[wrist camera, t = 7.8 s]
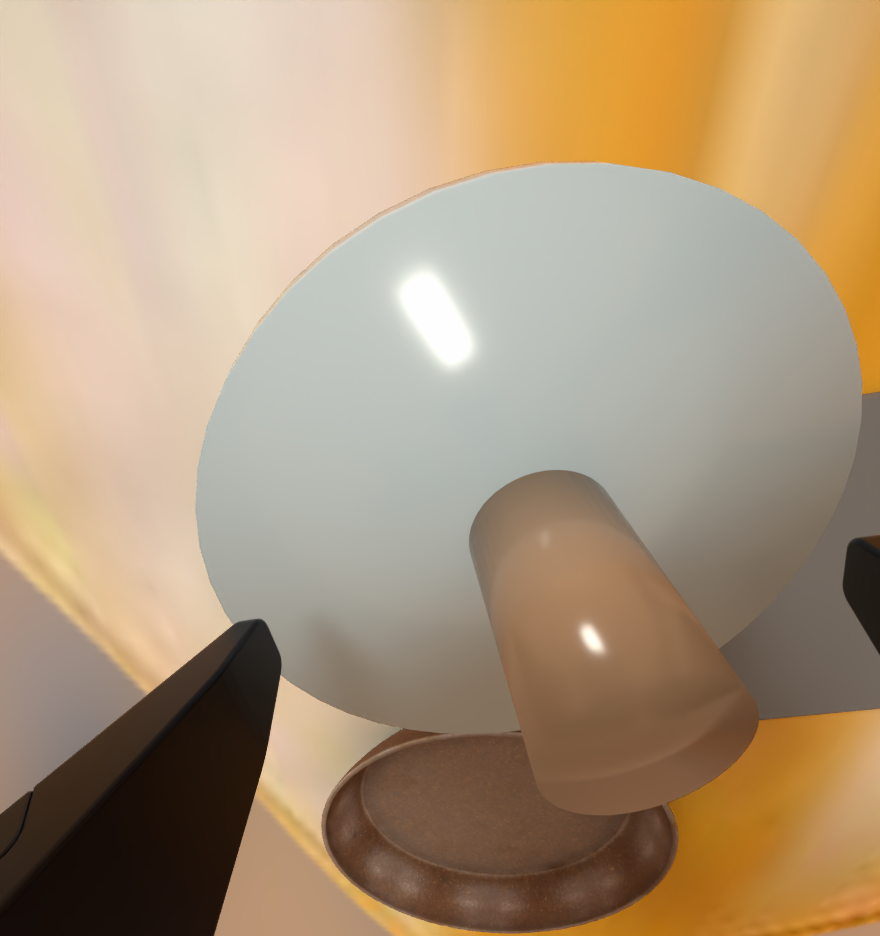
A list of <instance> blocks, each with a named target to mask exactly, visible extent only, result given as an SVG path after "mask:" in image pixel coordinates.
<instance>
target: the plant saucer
mask: <svg viewBox="0 0 880 936" xmlns="http://www.w3.org/2000/svg"><path fill="white" fill-rule="evenodd" d="M321 826H322V836H323V841H324V844H325V847H326V850H327V852H328V854H329V856H330V858H331V859H332V861H333V863H334V864H335V866H336V867H337V868H338V869H339V871H340V872H341V873H342V874H343V875H344V876H345V877H346V878H347V879H348V880H349V881H350V882H351V883H352V884H353V885H355V886H356V887H358V888H359V889H360V890H361V891H362V892H364V893H366V894H367V895H369V896H370V897H372V898H373V899H375V900H377V901H379V902H381V903H382V904H385V905H387V906H389V907H390V908H393V909H395V910H397V911H399V912H401V913H404V914H407V915H410V916H412V917H415V918H418V919H421V920H424V921H427V922H430V923H435V924H438V925H444V926H448V927H452V928H457V929H464V930H469V931H479V932H490V933H532V932H542V931H552V930H559V929H565V928H570V927H575V926H579V925H583V924H586V923H589V922H592V921H597V920H599V919H602V918H605V917H608V916H610V915H613V914H615V913H617V912H620V911H622V910H623V909H625V908H628V907H629V906H631V905H633V904H634V903H635V902H637V901H639V900H640V899H642V898H643V897H644V896H645V895H647V894H648V893H650V892H651V891H652V890H653V889H654V888H655V887H656V886H657V885H658V884H659V883H660V882H661V881H662V880H663V878H664V877H665V876H666V874H667V873H668V871H669V870H670V868H671V866H672V864H673V861H674V859H675V856H676V852H677V847H678V830H677V825H676V821H675V818H674V815H673V813H672V811H671V809H670V807H669V805H668V804H667V803H665V804H663V805H660V806H656V807H653V808H649V809H646V810H641V811H637V812H632V813H625V814H617V815H584V814H579V813H573V812H570V811H566V810H563V809H561V808H559V807H557V806H555V805H553V804H552V803H550V802H549V801H548V800H546V799H545V798H544V797H543V796H542V794H541V793H540V791H539V789H538V787H537V784H536V781H535V778H534V774H533V771H532V767H531V764H530V760H529V757H528V753H527V750H526V746H525V743H524V739H523V736H522V732H521V730H518V731H510V732H502V733H483V734H451V733H434V732H426V731H418V730H409V729H403V730H401V731H399V732H397V733H396V734H394V735H393V736H391V737H389V738H388V739H386V740H385V741H383V742H382V743H380V744H379V745H377V746H376V747H375V748H374V749H372V750H371V751H370V752H369V753H367V754H366V755H365V756H364V757H363V758H362V759H361V760H359V761H358V762H357V763H356V764H355V765H354V766H353V767H352V768H351V769H350V770H349V771H348V772H347V774H346V775H345V776H344V777H343V778H342V779H341V780H340V782H339V783H338V784H337V786H336V787H335V788H334V790H333V791H332V793H331V794H330V796H329V798H328V800H327V802H326V805H325V808H324V811H323V815H322V825H321Z"/></svg>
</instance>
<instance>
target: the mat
mask: <svg viewBox="0 0 880 936" xmlns="http://www.w3.org/2000/svg"><path fill="white" fill-rule="evenodd" d="M873 535H880V392H877V393H871V394H865V395H862V415H861V425H860V431H859V436H858V442H857V448H856V454H855V458H854V461H853V464H852V467H851V471H850V474H849V477H848V480H847V483H846V486H845V490H844V492H843V494H842V496H841V499H840V501H839V503H838V505H837V507H836V510H835V512H834V514H833V516H832V518H831V521H830V523H829V524H828V526H827V528H826V529H825V531H824V533H823V535H822V536H821V538H820V540H819V541H818V543H817V545H816V546H815V548H814V550H813V551H812V553H811V554H810V556H809V557H808V558H807V560H806V561H805V562H804V564H803V565H802V566H801V568H800V569H799V571H798V572H797V573H796V575H795V576H794V577H793V579H792V580H791V581H790V582H789V584H788V585H787V586H786V587H785V588H784V589H783V590H782V591H781V592H780V594H779V595H778V596H777V597H776V598H775V599H774V600H773V601H772V602H771V604H770V605H769V606H768V607H767V608H766V609H765V610H764V611H763V612H762V613H760V614H759V615H758V616H757V617H756V618H755V619H754V620H753V621H752V622H751V623H750V624H749V625H748V626H747V627H745V628H744V629H743V630H742V631H741V632H740V633H738V634H737V635H736V636H735V637H733V638H732V639H731V640H730V641H728V642H727V643H726V644H725V645H723V646H722V647H721V648H719V650H720V652H721V653H722V655H723V656H724V658H725V659H726V660H727V662H728V663H729V665H730V666H731V667H732V669H733V670H734V672H735V673H736V674H737V676H738V677H739V679H740V680H741V681H742V683H743V684H744V686H745V687H746V689H747V690H748V691H749V693H750V694H751V696H752V697H753V698H754V700H755V702H756V704H757V707H758V712H759V720H764V719H775V718H785V717H796V716H806V715H817V714H827V713H838V712H848V711H859V710H869V709H880V655H879V653H878V652H877V650H876V648H875V647H874V645H873V643H872V642H871V640H870V638H869V637H868V635H867V633H866V632H865V630H864V629H863V627H862V625H861V624H860V622H859V620H858V619H857V617H856V615H855V614H854V612H853V610H852V609H851V607H850V605H849V604H848V602H847V600H846V598H845V595H844V592H843V586H842V582H843V574H844V566H845V558H846V551H847V546H848V544H849V542H850V541H851V540H852V539H854V538H858V537H865V536H873Z"/></svg>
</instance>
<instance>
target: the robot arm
mask: <svg viewBox="0 0 880 936" xmlns="http://www.w3.org/2000/svg"><path fill="white" fill-rule="evenodd" d="M842 586H843V592H844V595H845V598H846V600H847V602H848V604H849V605H850V607H851V609H852V610H853V612H854V614H855V615H856V617H857V619H858V620H859V622H860V624H861V625H862V627H863V629H864V630H865V632H866V633H867V635H868V637H869V638H870V640H871V642H872V643H873V645H874V647H875V648H876V650H877V652H878V653H879V655H880V535H873V536H865V537H858V538H854V539H852V540H851V541H850V542H849V544H848V546H847V551H846V558H845V566H844V574H843V582H842ZM281 669H282V661H281V655H280V652H279V650H278V648H277V646H276V643H275V641H274V639H273V636H272V634H271V632H270V630H269V627H268V625H267V623H266V622H265V621H264V620H262V619H259V618H258V619H250V620H243V621H239V622H237V623H235V624H234V625H233V626H231V627H230V628H229V629H228V630H227V631H225V632H224V633H223V634H222V635H220V636H219V637H218V638H217V639H216V640H214V641H213V642H212V643H211V644H209V645H208V646H207V647H206V648H204V649H203V650H202V651H201V652H200V653H198V654H197V655H196V656H195V657H193V658H192V659H191V660H190V661H188V662H187V663H186V664H185V665H184V666H182V667H181V668H180V669H179V670H177V671H176V672H175V673H174V674H172V675H171V676H170V677H169V678H168V679H166V680H165V681H164V682H163V683H161V684H160V685H159V686H158V687H156V688H155V689H154V690H153V691H152V692H150V693H149V694H148V695H147V696H145V697H144V698H143V699H142V700H141V701H139V702H138V703H137V704H136V705H135V706H133V707H132V708H131V709H130V710H128V711H127V712H126V713H124V714H123V715H122V716H121V717H120V718H118V719H117V720H116V721H115V722H113V723H112V724H111V725H110V726H109V727H107V728H106V729H105V730H104V731H102V732H101V733H100V734H99V735H97V736H96V737H95V738H94V739H93V740H91V741H90V742H89V743H88V744H86V745H85V746H84V747H83V748H81V749H80V750H79V751H78V752H76V753H75V754H74V755H73V756H72V757H70V758H69V759H68V760H67V761H65V762H64V763H63V764H62V765H60V766H59V767H58V768H57V769H56V770H54V771H53V772H52V773H51V774H49V775H48V776H47V777H46V778H44V779H43V780H42V781H41V782H40V783H38V784H37V785H36V786H35V787H34V790H33V791H29V792H27V793H26V794H25V795H23V796H22V797H21V798H20V799H18V800H17V801H16V802H15V803H14V804H12V805H11V806H10V807H9V808H8V809H6V810H5V811H4V812H3V813H2V814H0V936H214V934H215V930H216V927H217V923H218V920H219V916H220V913H221V909H222V906H223V903H224V899H225V896H226V892H227V889H228V885H229V882H230V878H231V875H232V871H233V868H234V865H235V861H236V858H237V854H238V851H239V847H240V844H241V840H242V837H243V833H244V830H245V826H246V823H247V820H248V816H249V813H250V809H251V806H252V802H253V799H254V796H255V792H256V789H257V785H258V782H259V778H260V775H261V771H262V767H263V764H264V760H265V756H266V751H267V746H268V741H269V736H270V730H271V725H272V719H273V713H274V708H275V702H276V697H277V691H278V686H279V680H280V675H281Z"/></svg>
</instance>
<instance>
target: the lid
mask: <svg viewBox="0 0 880 936" xmlns="http://www.w3.org/2000/svg"><path fill="white" fill-rule="evenodd" d="M861 415H862V378H861V371H860V363H859V356H858V349H857V344H856V341H855V338H854V335H853V332H852V329H851V326H850V323H849V320H848V316H847V313H846V310H845V308H844V306H843V304H842V302H841V300H840V299H839V297H838V295H837V293H836V291H835V290H834V288H833V286H832V284H831V282H830V280H829V279H828V277H827V275H826V273H825V272H824V271H823V270H822V268H821V267H820V266H819V265H818V264H817V262H816V261H815V260H814V259H813V258H812V256H811V255H810V254H809V253H808V252H807V250H806V249H805V248H804V247H803V246H802V244H801V243H800V242H799V241H798V240H797V239H796V238H795V237H793V236H792V235H791V234H790V233H788V232H787V231H786V230H785V229H784V228H782V227H781V226H780V225H779V224H777V223H776V222H775V221H774V220H772V219H771V218H770V217H769V216H768V215H766V214H765V213H764V212H763V211H761V210H759V209H757V208H755V207H753V206H751V205H750V204H748V203H746V202H744V201H742V200H740V199H738V198H737V197H735V196H733V195H731V194H729V193H727V192H725V191H724V190H722V189H720V188H717V187H714V186H711V185H708V184H704V183H701V182H698V181H695V180H692V179H689V178H686V177H683V176H680V175H677V174H674V173H671V172H664V171H658V170H651V169H644V168H637V167H631V166H624V165H617V164H610V163H603V162H596V161H574V162H536V163H530V164H524V165H518V166H512V167H506V168H500V169H494V170H488V171H483V172H480V173H477V174H473V175H470V176H467V177H464V178H461V179H458V180H455V181H452V182H448V183H445V184H442V185H439V186H436V187H433V188H430V189H428V190H426V191H424V192H421V193H419V194H417V195H415V196H413V197H411V198H409V199H407V200H405V201H403V202H401V203H399V204H397V205H395V206H393V207H391V208H389V209H387V210H384V211H382V212H380V213H378V214H377V215H375V216H374V217H372V218H371V219H369V220H368V221H366V222H365V223H364V224H362V225H361V226H359V227H358V228H356V229H355V230H353V231H352V232H350V233H349V234H347V235H346V236H344V237H343V238H341V239H340V240H338V241H337V242H335V243H334V244H332V245H331V246H330V247H329V248H328V249H327V250H326V251H325V252H323V253H322V254H321V255H320V256H319V257H318V258H317V259H316V260H315V261H314V262H312V263H311V264H310V265H309V266H308V267H307V268H306V269H305V270H304V271H303V272H301V273H300V274H299V275H298V276H297V277H296V278H295V279H294V280H293V281H292V282H291V283H290V284H289V285H288V286H287V288H286V289H285V290H284V291H283V293H282V294H281V295H280V296H279V297H278V299H277V300H276V301H275V302H274V303H273V305H272V306H271V307H270V308H269V310H268V311H267V312H266V313H265V314H264V316H263V317H262V318H261V319H260V320H259V322H258V324H257V325H256V327H255V329H254V330H253V332H252V334H251V335H250V337H249V339H248V340H247V342H246V344H245V345H244V347H243V349H242V350H241V352H240V354H239V355H238V357H237V359H236V360H235V362H234V364H233V366H232V368H231V370H230V372H229V374H228V376H227V379H226V381H225V383H224V386H223V388H222V390H221V393H220V395H219V398H218V400H217V403H216V405H215V408H214V410H213V413H212V415H211V418H210V420H209V423H208V425H207V429H206V434H205V438H204V443H203V447H202V452H201V456H200V460H199V465H198V472H197V491H196V518H197V526H198V535H199V543H200V549H201V553H202V556H203V559H204V563H205V566H206V570H207V573H208V576H209V580H210V583H211V585H212V587H213V589H214V591H215V593H216V595H217V597H218V599H219V601H220V603H221V605H222V607H223V609H224V611H225V613H226V615H227V616H228V618H229V619H230V621H231V622H232V623H233V625H234V624H235V623H237V622H239V621H243V620H250V619H258V618H259V619H262V620H264V621H265V622H266V623H267V625H268V627H269V630H270V632H271V634H272V636H273V639H274V641H275V643H276V646H277V648H278V650H279V652H280V655H281V661H282V669H281V675H282V676H283V677H284V678H285V679H287V680H288V681H289V682H290V683H292V684H293V685H295V686H296V687H298V688H300V689H301V690H303V691H305V692H306V693H308V694H310V695H311V696H313V697H315V698H316V699H318V700H320V701H322V702H324V703H327V704H329V705H331V706H333V707H336V708H338V709H340V710H342V711H344V712H347V713H349V714H352V715H355V716H358V717H362V718H365V719H368V720H371V721H374V722H377V723H381V724H386V725H390V726H395V727H400V728H404V729H409V730H418V731H426V732H434V733H451V734H483V733H502V732H510V731H518V730H521V732H522V736H523V739H524V743H525V746H526V750H527V753H528V757H529V760H530V764H531V767H532V771H533V774H534V778H535V781H536V784H537V787H538V789H539V791H540V793H541V794H542V796H543V797H544V798H545V799H546V800H548V801H549V802H550V803H552V804H553V805H555V806H557V807H559V808H561V809H563V810H566V811H570V812H573V813H579V814H584V815H617V814H625V813H632V812H637V811H641V810H646V809H649V808H653V807H656V806H660V805H663V804H665V803H668V802H671V801H674V800H676V799H678V798H681V797H683V796H685V795H687V794H689V793H691V792H693V791H695V790H697V789H699V788H701V787H702V786H704V785H706V784H707V783H709V782H711V781H712V780H713V779H715V778H716V777H718V776H719V775H721V774H722V773H723V772H724V771H726V770H727V769H728V768H729V767H730V766H731V765H732V764H733V763H735V762H736V761H737V760H738V759H739V757H740V756H741V755H742V754H743V753H744V752H745V750H746V749H747V747H748V746H749V745H750V743H751V742H752V739H753V737H754V735H755V733H756V730H757V727H758V722H759V712H758V707H757V704H756V702H755V700H754V698H753V697H752V696H751V694H750V693H749V691H748V690H747V689H746V687H745V686H744V684H743V683H742V681H741V680H740V679H739V677H738V676H737V674H736V673H735V672H734V670H733V669H732V667H731V666H730V665H729V663H728V662H727V660H726V659H725V658H724V656H723V655H722V653H721V652H720V650H719V648H721V647H722V646H723V645H725V644H726V643H727V642H728V641H730V640H731V639H732V638H733V637H735V636H736V635H737V634H738V633H740V632H741V631H742V630H743V629H744V628H745V627H747V626H748V625H749V624H750V623H751V622H752V621H753V620H754V619H755V618H756V617H757V616H758V615H759V614H760V613H762V612H763V611H764V610H765V609H766V608H767V607H768V606H769V605H770V604H771V602H772V601H773V600H774V599H775V598H776V597H777V596H778V595H779V594H780V592H781V591H782V590H783V589H784V588H785V587H786V586H787V585H788V584H789V582H790V581H791V580H792V579H793V577H794V576H795V575H796V573H797V572H798V571H799V569H800V568H801V566H802V565H803V564H804V562H805V561H806V560H807V558H808V557H809V556H810V554H811V553H812V551H813V550H814V548H815V546H816V545H817V543H818V541H819V540H820V538H821V536H822V535H823V533H824V531H825V529H826V528H827V526H828V524H829V523H830V521H831V518H832V516H833V514H834V512H835V510H836V507H837V505H838V503H839V501H840V499H841V496H842V494H843V492H844V490H845V486H846V483H847V480H848V477H849V474H850V471H851V467H852V464H853V461H854V458H855V454H856V448H857V442H858V436H859V431H860V425H861Z"/></svg>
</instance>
